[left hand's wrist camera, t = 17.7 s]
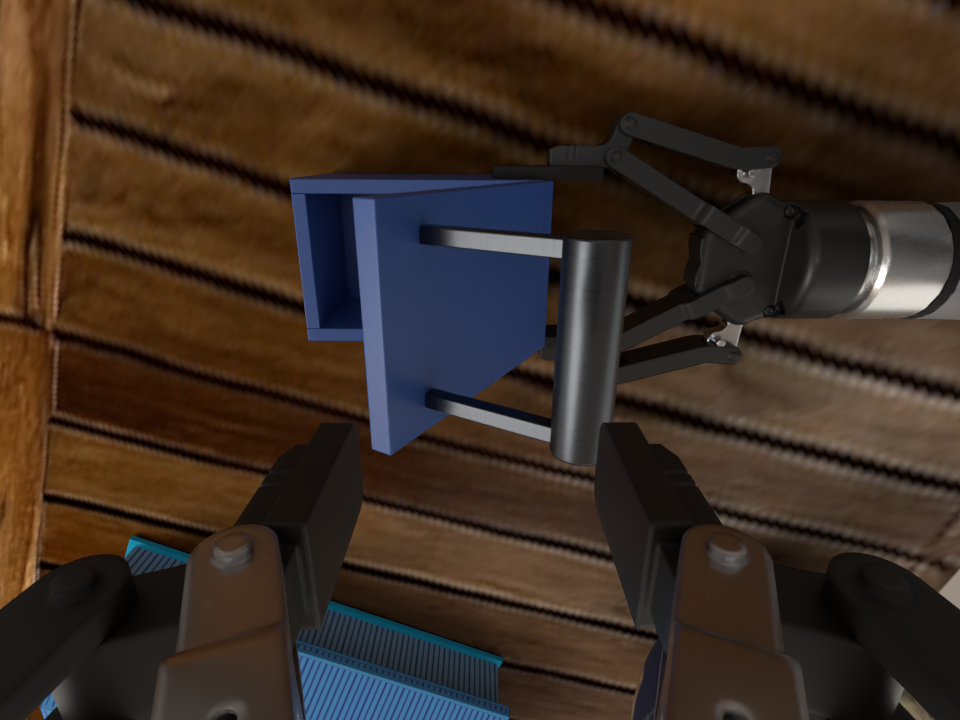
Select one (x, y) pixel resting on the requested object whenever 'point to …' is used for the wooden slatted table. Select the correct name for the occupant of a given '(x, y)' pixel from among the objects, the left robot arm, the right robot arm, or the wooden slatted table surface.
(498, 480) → the wooden slatted table surface
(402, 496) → the wooden slatted table surface
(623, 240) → the lid
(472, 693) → the model building
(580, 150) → the right robot arm
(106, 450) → the wooden slatted table surface
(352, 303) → the chest
